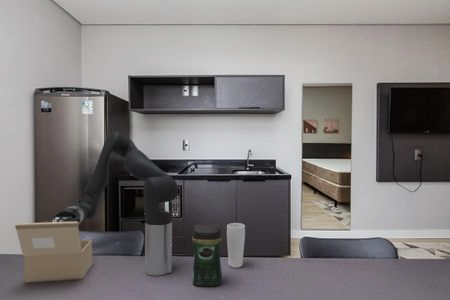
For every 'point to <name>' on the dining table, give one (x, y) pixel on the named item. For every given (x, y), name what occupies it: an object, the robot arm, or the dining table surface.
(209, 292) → the dining table surface
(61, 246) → the lid
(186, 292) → the dining table surface
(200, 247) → the coffee jar
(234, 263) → the drinking glass
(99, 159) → the robot arm
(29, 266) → the mailer box
